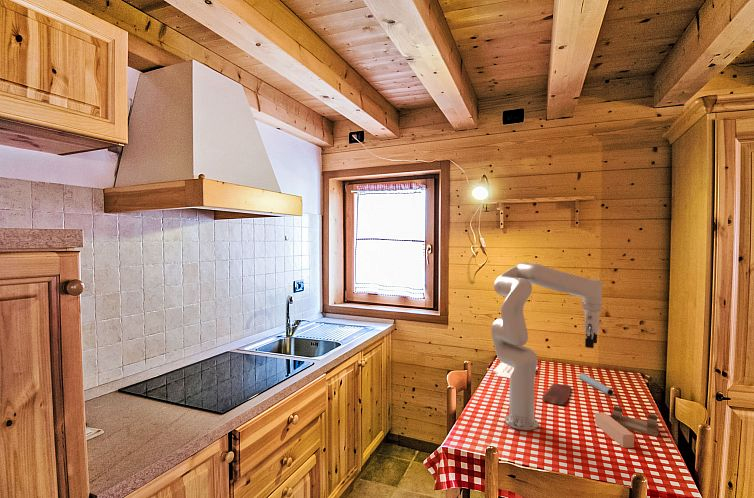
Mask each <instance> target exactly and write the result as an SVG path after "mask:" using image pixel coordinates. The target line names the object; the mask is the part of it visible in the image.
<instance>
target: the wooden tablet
mask: <svg viewBox="0 0 754 498" xmlns="http://www.w3.org/2000/svg"><path fill="white" fill-rule="evenodd" d="M571 390H572V386H570V385H567V384H566V385H565V384H559V383H553V384H551V385H550V386H549V388H548V389H547V390H546V391H545V393H544V395H543V396H542V401H543V402H546V403H550V404H554V405H556V406H557V405H558V406H564V405H566V403H567V402H568V400H569V397H570V394H571Z"/></svg>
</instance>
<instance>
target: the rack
mask: <svg viewBox="0 0 754 498" xmlns="http://www.w3.org/2000/svg"><path fill="white" fill-rule="evenodd" d="M610 417H611V418H613V419H614V420H615V421H617V422H618V423H619V424H621V425H622V426H623V427H625V428H626V429H627V430H629V431H634V432H638V433H642V434H647V435H650V436H654V437H657V436H658V437H659V423H658V415H657V414H655V413H654V414H653V413H647V420H643V419H638V418H634V417H630V416H625V415H623V407H622V406H617V405H614V406H613V412H611V416H610Z"/></svg>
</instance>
